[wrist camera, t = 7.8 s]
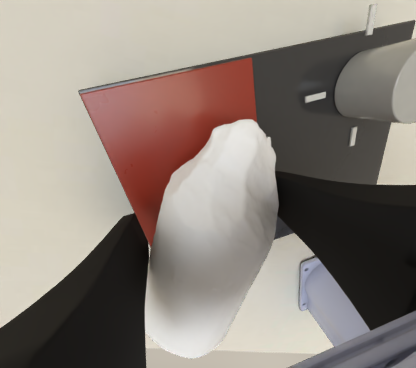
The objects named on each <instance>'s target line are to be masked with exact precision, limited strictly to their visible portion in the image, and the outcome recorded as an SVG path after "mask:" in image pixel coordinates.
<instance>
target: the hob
mask: <svg viewBox="0 0 416 368" xmlns="http://www.w3.org/2000/svg"><path fill="white" fill-rule="evenodd" d="M376 9H377V4H372V5H370V6H369V12H368V19H367V26H366V30H364V31H359V32H354V33H350V34H345V35H340V36H335V37H331V38H326V39H321V40H316V41H311V42H307V43H302V44H297V45H292V46H288V47H283V48H278V49H273V50H268V51H264V52H259V53H254V54H249V55H245V56H240V57H235V58H230V59H225V60H221V61H216V62H211V63H206V64H202V65H197V66H192V67H187V68H182V69H178V70H173V71H168V72H163V73H159V74H154V75H149V76H144V77H139V78H135V79H130V80H125V81H120V82H116V83H111V84H106V85H101V86H96V87H92V88H87V89H82V90H79V91H78V92H79V94H81V93H86V92H90V91H95V90H100V89H105V88H109V87H114V86H119V85H123V84H128V83H133V82H138V81H142V80H147V79H152V78H157V77H161V76H166V75H171V74H175V73H180V72H185V71H190V70H194V69H199V68H204V67H208V66H213V65H218V64H223V63H227V62H232V61H237V60H242V59H246V58H252V65H253V78H254V91H255V104H256V117H257V124H258V126H259V128H260V129H262V130H263V132H264V133H265V134H266V137H270V138H271V147H272V148H273V149H274V152H275V154H276V163H275V171H282V172H288V173H293V174H298V175H303V176H308V177H313V178H318V179H324V180H331V181H337V182H346V183H356V184H370V185H376V184H377V179H378V175H379V171H380V167H381V163H382V159H383V154H384V150H385V146H386V142H387V138H388V134H389V129H390V125H391V122H384V121H375V120H365V119H356V118H348V117H345V116H343V115H342V114H341V113H340V112H339V111H338V110H337V108H336V105H335V98H334V95H335V87H336V83H337V80H338V78H339V75H340V73H341V71H342V70H343V68H344V67H345V65H346V64H347V63H348V61H349V60H350V59H351V58H353V57H354V56H355V55H356V54H358V53H359V52H361V51H363V50H366V49H370V48H375V47H379V46H383V45H388V44H392V43H397V42H401V41H405V40H410V39H411V38H412V34H413V30H414V25H415V20H412V21H407V22H402V23H397V24H393V25H388V26H383V27H378V28H374V21H375V15H376ZM373 28H374V29H373ZM81 99H82V98H81ZM82 101H83V100H82ZM83 103H84V102H83ZM84 105H85V104H84ZM88 114H89V113H88ZM89 116H90V115H89ZM90 118H91V117H90ZM95 129H96V128H95ZM96 131H97V130H96ZM97 133H98V132H97ZM101 142H102V141H101ZM102 144H103V143H102ZM103 146H104V145H103ZM108 157H109V156H108ZM109 159H110V158H109ZM110 161H111V160H110ZM115 172H116V171H115ZM116 174H117V173H116ZM121 185H122V184H121ZM122 187H123V186H122ZM123 189H124V188H123ZM128 200H129V199H128ZM129 202H130V201H129ZM292 233H294V232H293V231H292V230H291V229H290V228H289V227H288V226H287V225H286V224H285V223H284V222H283V221H282V220H281V219H280V218H279V217H278V216H277V222H276V231H275V236H274V240H275V239H278V238H281V237H283V236H286V235H289V234H292ZM148 243H149V242H148ZM149 245H150V244H149Z"/></svg>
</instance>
